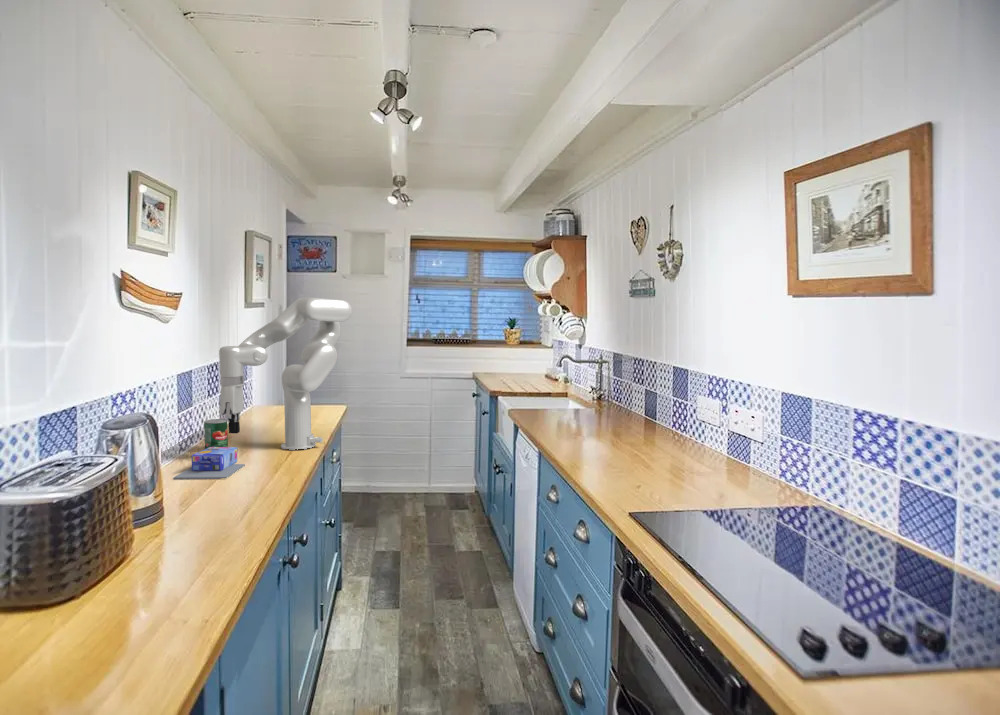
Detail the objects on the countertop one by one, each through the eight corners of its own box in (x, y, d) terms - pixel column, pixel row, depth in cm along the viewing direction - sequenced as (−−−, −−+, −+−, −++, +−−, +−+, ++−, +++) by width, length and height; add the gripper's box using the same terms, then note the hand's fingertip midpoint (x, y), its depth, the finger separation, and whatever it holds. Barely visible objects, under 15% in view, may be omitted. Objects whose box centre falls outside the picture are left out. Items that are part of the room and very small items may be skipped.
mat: (245, 465, 207) (245, 464, 207) (226, 479, 191) (226, 477, 191) (196, 466, 206) (196, 464, 206) (173, 479, 190) (173, 477, 190)
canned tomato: (222, 452, 226) (221, 422, 225) (200, 452, 226) (199, 422, 225) (231, 447, 234) (231, 418, 233) (211, 447, 234) (210, 418, 233)
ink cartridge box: (237, 446, 209) (217, 457, 194) (238, 461, 209) (218, 474, 195) (209, 445, 209) (186, 457, 195) (209, 461, 210) (187, 474, 195)
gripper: (229, 378, 223) (231, 428, 225) (212, 384, 208) (215, 437, 210) (250, 378, 223) (252, 428, 225) (235, 384, 209) (237, 437, 210)
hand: (234, 432), depth 217 cm, fingers closed
